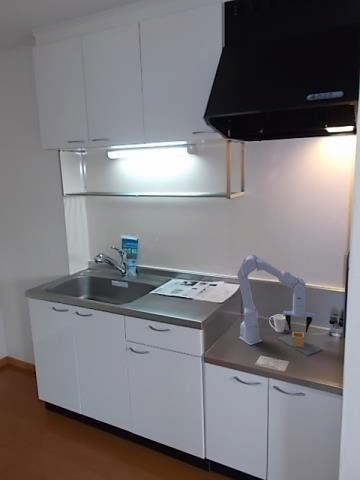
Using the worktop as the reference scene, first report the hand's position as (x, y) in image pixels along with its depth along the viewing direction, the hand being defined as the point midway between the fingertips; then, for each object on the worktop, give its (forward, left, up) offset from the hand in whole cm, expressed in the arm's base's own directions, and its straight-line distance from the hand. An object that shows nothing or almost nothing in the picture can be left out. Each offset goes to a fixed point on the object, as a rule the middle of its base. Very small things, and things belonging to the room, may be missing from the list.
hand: (298, 330), depth 184 cm
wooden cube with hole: (0, 0, -7) cm, 7 cm away
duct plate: (0, +1, -8) cm, 8 cm away
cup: (-18, +3, -8) cm, 20 cm away
